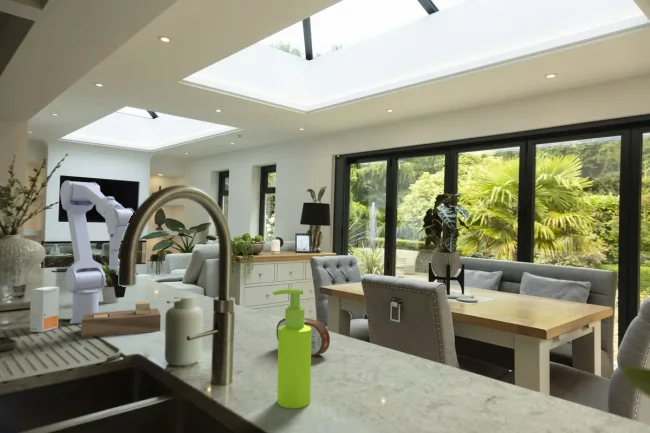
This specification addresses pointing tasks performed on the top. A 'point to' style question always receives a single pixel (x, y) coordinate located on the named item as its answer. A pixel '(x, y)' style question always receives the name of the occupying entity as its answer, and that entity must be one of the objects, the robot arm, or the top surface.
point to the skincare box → (44, 309)
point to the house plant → (108, 287)
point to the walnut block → (119, 323)
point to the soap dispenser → (294, 355)
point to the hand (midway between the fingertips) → (119, 297)
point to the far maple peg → (142, 307)
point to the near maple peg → (100, 316)
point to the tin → (314, 336)
